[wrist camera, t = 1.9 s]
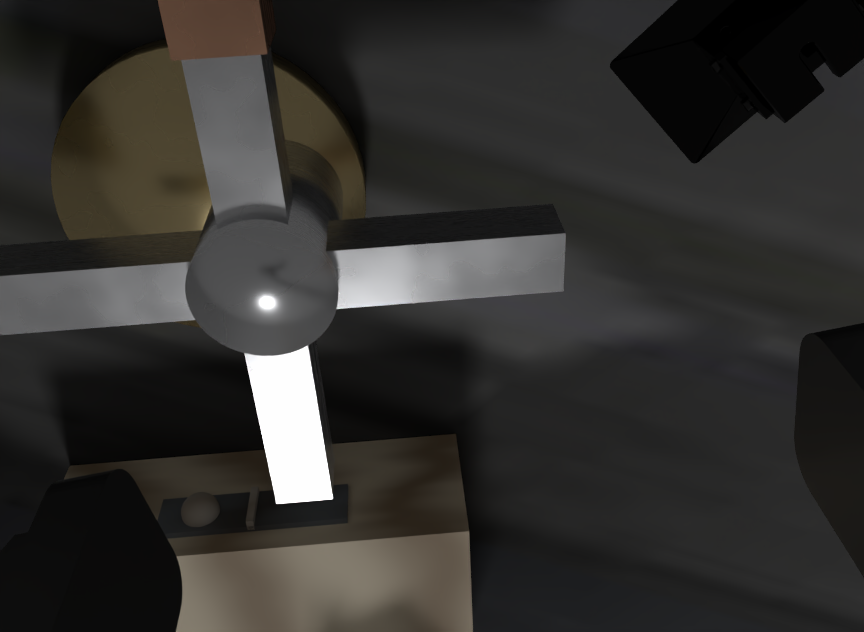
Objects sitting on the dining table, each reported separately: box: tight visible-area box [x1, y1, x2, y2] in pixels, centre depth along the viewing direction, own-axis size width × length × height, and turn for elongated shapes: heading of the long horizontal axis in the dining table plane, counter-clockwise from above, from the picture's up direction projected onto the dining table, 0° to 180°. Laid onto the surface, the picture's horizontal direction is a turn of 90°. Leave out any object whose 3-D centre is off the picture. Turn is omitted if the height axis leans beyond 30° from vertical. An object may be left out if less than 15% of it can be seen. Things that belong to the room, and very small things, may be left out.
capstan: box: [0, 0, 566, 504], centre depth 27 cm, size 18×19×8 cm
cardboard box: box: [64, 434, 473, 632], centre depth 38 cm, size 18×9×6 cm, turn 93°
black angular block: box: [610, 0, 864, 163], centre depth 28 cm, size 12×7×5 cm, turn 135°
